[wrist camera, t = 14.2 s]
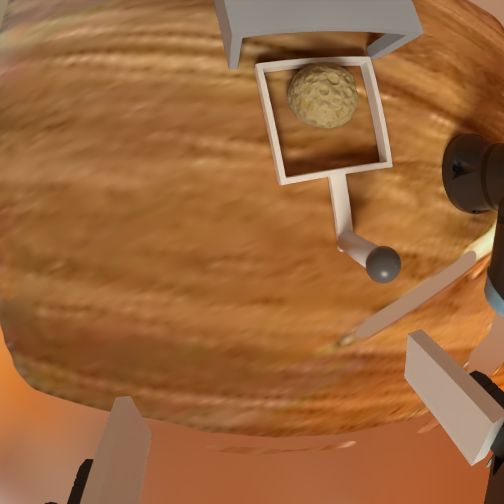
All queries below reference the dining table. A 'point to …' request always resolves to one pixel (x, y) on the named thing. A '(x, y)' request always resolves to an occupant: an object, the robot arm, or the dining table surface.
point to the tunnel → (317, 21)
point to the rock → (323, 95)
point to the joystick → (363, 251)
